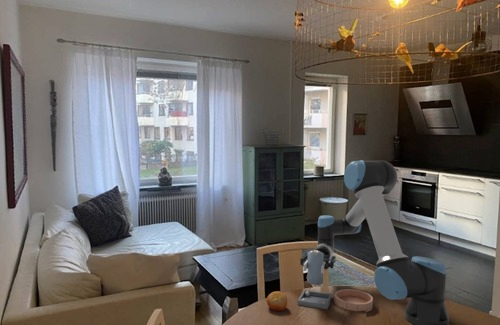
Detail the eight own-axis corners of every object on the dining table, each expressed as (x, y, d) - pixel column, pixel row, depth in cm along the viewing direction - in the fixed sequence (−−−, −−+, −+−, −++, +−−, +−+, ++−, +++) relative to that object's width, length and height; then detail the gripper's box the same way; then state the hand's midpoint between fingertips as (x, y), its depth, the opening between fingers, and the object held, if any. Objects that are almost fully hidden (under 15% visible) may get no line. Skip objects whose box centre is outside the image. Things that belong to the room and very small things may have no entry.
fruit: (287, 300, 156) (287, 288, 152) (286, 318, 150) (287, 305, 145) (267, 299, 157) (267, 287, 153) (266, 316, 151) (266, 304, 146)
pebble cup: (324, 280, 160) (324, 249, 159) (321, 285, 154) (322, 253, 153) (309, 278, 162) (309, 247, 161) (305, 283, 156) (306, 251, 155)
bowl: (373, 300, 161) (373, 292, 161) (371, 315, 147) (372, 306, 147) (336, 295, 166) (337, 287, 166) (332, 309, 152) (332, 300, 152)
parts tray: (331, 299, 162) (331, 293, 161) (327, 311, 150) (327, 304, 150) (303, 295, 166) (303, 289, 165) (297, 306, 154) (297, 299, 154)
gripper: (343, 264, 171) (337, 281, 150) (301, 259, 178) (289, 275, 156) (344, 247, 171) (338, 262, 149) (301, 243, 177) (289, 257, 156)
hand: (313, 268), depth 153 cm, fingers closed on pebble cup, 6 cm apart
